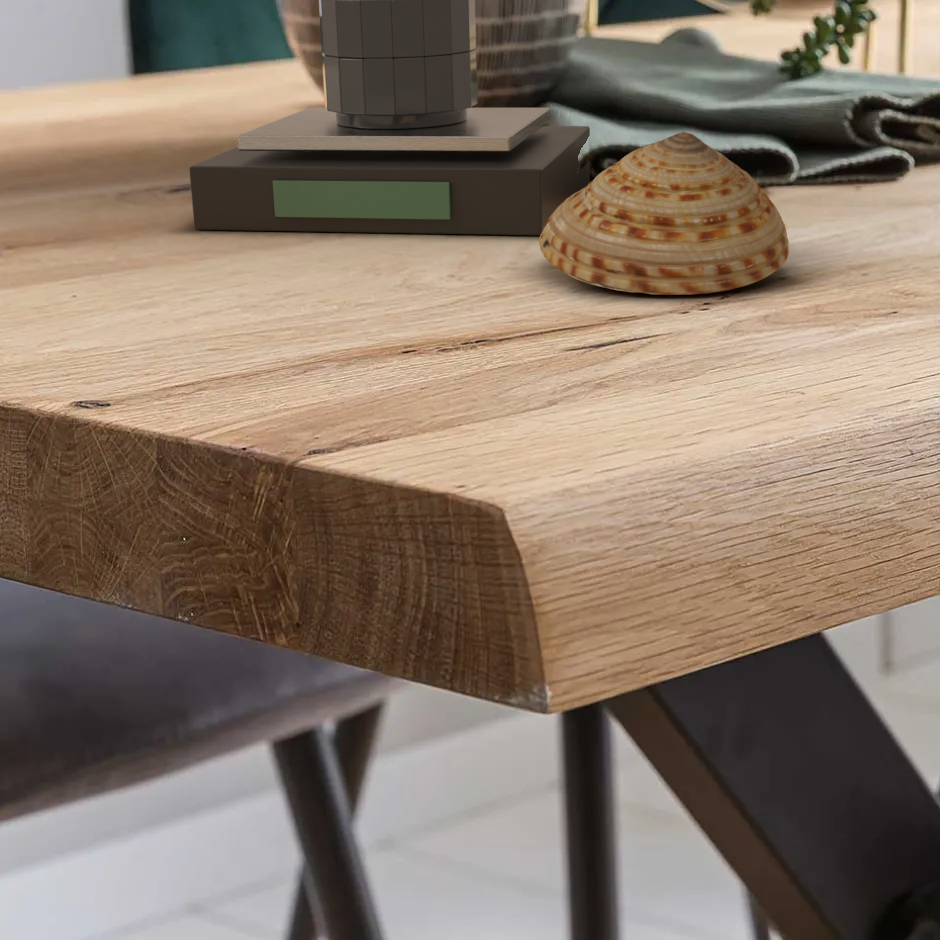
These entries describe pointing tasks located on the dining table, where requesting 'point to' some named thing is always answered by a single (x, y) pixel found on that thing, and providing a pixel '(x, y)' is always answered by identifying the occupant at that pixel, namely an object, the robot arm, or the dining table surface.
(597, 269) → the seashell
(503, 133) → the scale pan
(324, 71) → the grey faceted cup
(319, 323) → the dining table surface
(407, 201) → the scale
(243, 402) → the dining table surface
